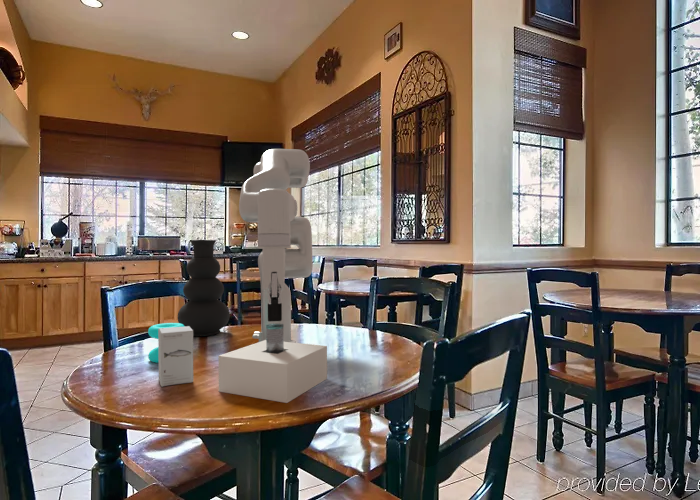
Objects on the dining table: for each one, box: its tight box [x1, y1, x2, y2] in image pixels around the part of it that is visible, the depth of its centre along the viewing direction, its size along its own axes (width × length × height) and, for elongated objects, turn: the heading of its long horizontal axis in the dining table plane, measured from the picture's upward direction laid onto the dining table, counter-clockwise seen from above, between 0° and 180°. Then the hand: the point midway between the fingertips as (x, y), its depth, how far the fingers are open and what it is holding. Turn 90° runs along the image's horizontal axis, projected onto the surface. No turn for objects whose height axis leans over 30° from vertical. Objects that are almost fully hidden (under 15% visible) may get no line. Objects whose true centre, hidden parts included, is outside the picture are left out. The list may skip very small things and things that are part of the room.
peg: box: [266, 324, 284, 354], centre depth 102 cm, size 4×4×8 cm
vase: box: [177, 239, 231, 337], centre depth 161 cm, size 18×18×35 cm
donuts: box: [147, 322, 185, 364], centre depth 125 cm, size 10×10×10 cm
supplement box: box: [157, 326, 194, 387], centre depth 105 cm, size 7×7×13 cm
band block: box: [217, 340, 328, 404], centre depth 102 cm, size 18×18×8 cm
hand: (274, 320), depth 102 cm, fingers closed
